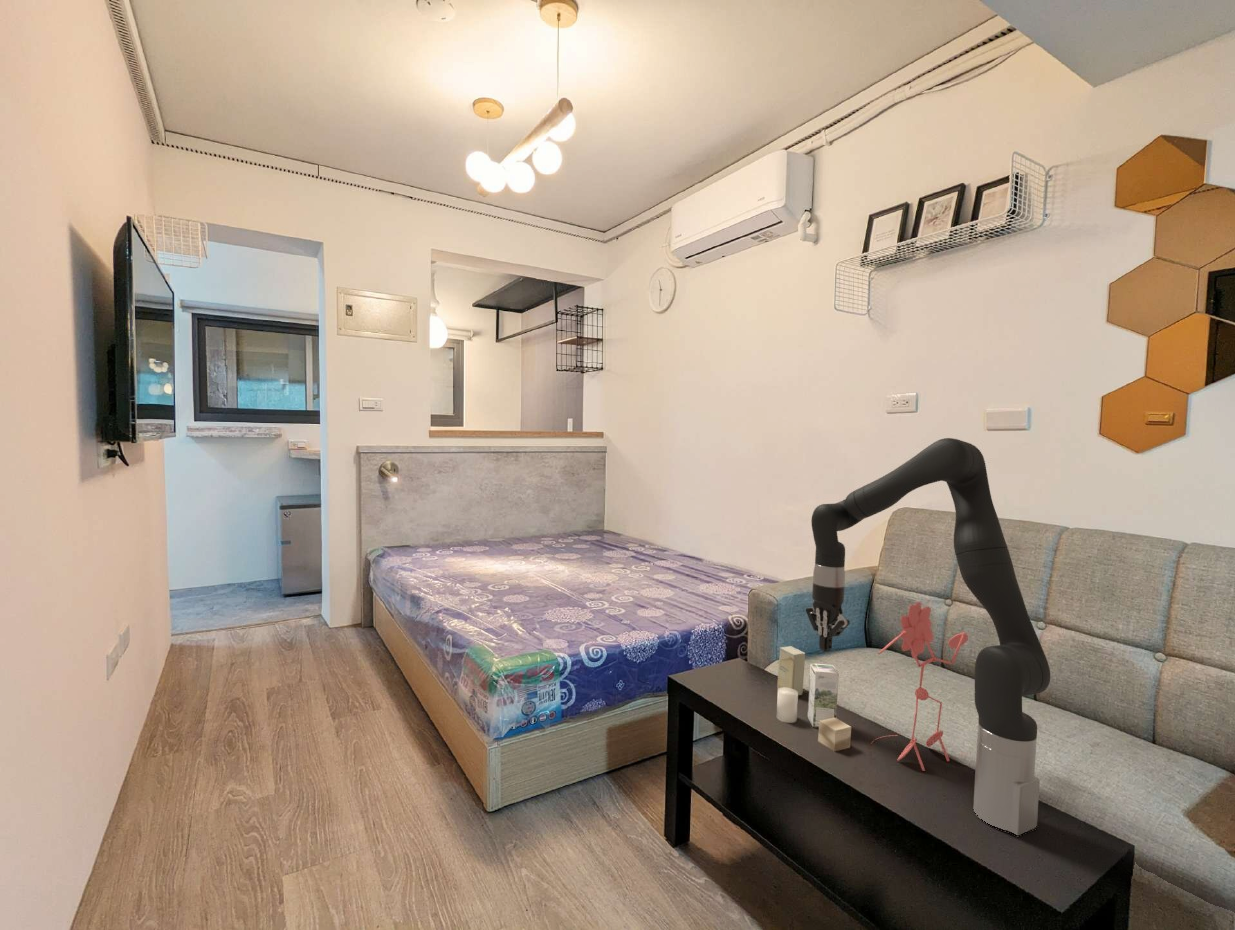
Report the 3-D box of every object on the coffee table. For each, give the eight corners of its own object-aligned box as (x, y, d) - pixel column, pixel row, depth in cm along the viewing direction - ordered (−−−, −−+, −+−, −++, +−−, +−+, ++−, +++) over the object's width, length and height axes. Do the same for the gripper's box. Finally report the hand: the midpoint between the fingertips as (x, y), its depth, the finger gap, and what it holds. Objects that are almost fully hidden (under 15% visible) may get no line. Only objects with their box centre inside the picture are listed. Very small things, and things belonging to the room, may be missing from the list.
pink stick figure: (974, 754, 133) (979, 604, 133) (903, 782, 121) (909, 616, 120) (912, 727, 147) (916, 590, 146) (843, 749, 134) (847, 600, 134)
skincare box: (776, 688, 167) (778, 647, 166) (788, 686, 169) (790, 645, 168) (791, 697, 161) (793, 654, 161) (803, 695, 163) (806, 652, 163)
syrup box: (829, 719, 149) (832, 663, 148) (836, 730, 143) (839, 672, 142) (807, 717, 149) (809, 661, 149) (812, 728, 143) (815, 670, 143)
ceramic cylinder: (800, 720, 147) (802, 693, 147) (785, 724, 145) (787, 696, 145) (787, 712, 152) (788, 686, 151) (772, 715, 149) (773, 688, 149)
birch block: (850, 747, 135) (851, 726, 134) (834, 751, 132) (835, 730, 132) (833, 737, 139) (834, 717, 139) (818, 741, 137) (819, 720, 137)
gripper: (860, 587, 141) (856, 657, 141) (820, 575, 153) (817, 640, 153) (838, 589, 137) (834, 661, 138) (798, 577, 149) (795, 643, 150)
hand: (825, 650), depth 146 cm, fingers closed
